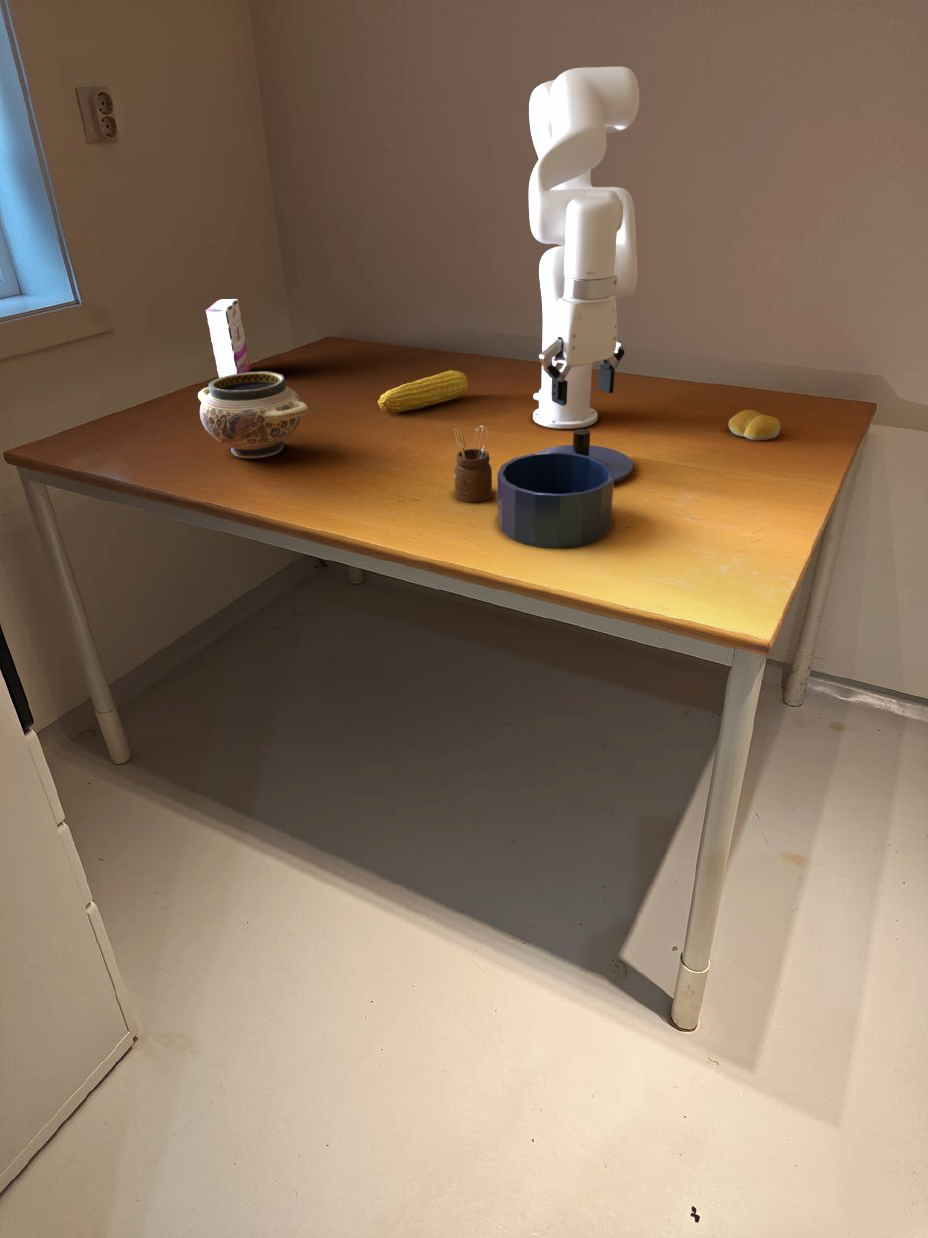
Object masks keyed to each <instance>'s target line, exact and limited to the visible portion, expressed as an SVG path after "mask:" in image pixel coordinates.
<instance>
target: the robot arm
mask: <svg viewBox="0 0 928 1238" xmlns="http://www.w3.org/2000/svg"><path fill="white" fill-rule="evenodd" d="M639 87H640V86H639V81H638V78H637V77H636V74H635V73H634V72H633V71H632V69H630V68H628V67H626V66H595V67H594V66H592V67H589V66H588V67H586V66H585V67H575V68H570V69H567V70H565V71H563V72H562V73H560V74H559V75H558V76H557V77H556V78H555V79H553V80H548V81H545V82H543V83H541V84H539V85H537V86H536V87H535V88H534V89H533V91H531V95H530V98H529V104H528V107H529V108H528V111H529V112H528V115H529V128H530V135H531V140H532V142H533V147H534V149H535V152H536V154H537V157H538V160H537V162H536V164H535V165H534V167H533V169H532V172H531V175H530V177H529V178H530V179H529V184H528V211H529V212H528V213H529V225H530V231H531V233H532V236H533V237H534V239H536V241H538V242H539V243H541V244H546V245H552V244H553V245H558V246H554V247H552V248H549V249H548V250H546V251H545V252H544V253H543V255H541V259H540V261H539V266H538V267H539V268H538V274H539V275H538V278H539V285H540V286H539V287H540V294H541V304H542V305H541V306H542V347H541V349H542V350H541V351H542V352H540V353H539V355H538V359H539V361H540V364H541V388H540V389H539V391H538V392H535V393H534V394H533V396H532V398H533V400H535V401H537V402H538V408H537V409H535V410H534V411H533V412H532V419H533V421H534V422H535V423H536V424H538V425H540V426H542V427H545V428H551V429H557V430H573V429H574V430H577V429H583V428H587V427H589V426H592V425H594V424H595V423H596V422H597V421H598V412H597V410H595V409H594V408H592V407H591V394H592V378H593V364H595V363H598V362H599V363H600V362H601V363H602V364H600V365H599V368H598V381H597V389H598V390H599V391H602V392H604V393H607V394H609V395H611V394H613V393H614V389H615V373H616V369H618V368H619V366H620V361H621V360H622V358H623V357H624V355H625V350H626V348H627V346H628V344H629V342H630V337H629V336H627V335H626V334H623V333H621V332H619V331H618V313H617V312H618V309H617V301H619V302H620V301H625V300H627V299H629V298H631V297H632V296H633V294H634V293H635V290H636V287H637V283H638V271H639V270H638V252H637V251H638V250H637V247H638V246H637V233H636V232H637V229H636V227H637V226H636V212H635V204H634V199H633V197H632V195H631V193H630V192H629V191H628V190H627V189H625V188H624V187H619V186H592V176H591V171H592V170H593V169H595V168H596V167H597V166H598V165H599V164H600V163H601V162H602V160H603V158H604V156H605V154H606V151H607V147H608V146H607V145H608V142H607V141H608V140H607V134H615V133H617V134H618V133H620V132H622V131H624V130H626V129H627V128H629V127H630V126H631V125H632V124H633V123H634V121H635V119H636V117H637V115H638V113H639V112H638V111H639V106H640V88H639Z"/></svg>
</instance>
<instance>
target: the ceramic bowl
mask: <svg viewBox="0 0 928 1238" xmlns="http://www.w3.org/2000/svg"><path fill="white" fill-rule="evenodd" d="M197 397H198V400H199V401H200V402H201V404H200V407H199V416H200V420H201V424H202V426H203V427H204V429H205V430H206V432H208V434H209V435H210V436H211V437H213V438H214V439H215V440H216V441H218V442H219V443H221V444H223V445H224V446H226V447H229V448H230V452H231V453H232V454H233V455H234V456H236V457H237V458H241V459H261V458H262V459H263V458H266V457H271V456H274V455H276V454H278V453H280V452H281V451H282V450H283V449H284V448H285V444H284V441H285V440H287V439H288V438H289V437H290V436H292V434H293V433H294V432H295V430H296V429H297V427H298V426H299V425H300V422H301V419H302V416H304V415H306V414H307V413H308V411H309V408H308V405H307V404H306V403H305V402H303V401H302V400H301V398H300V396H299V395H298V394H297V392H296V391H295V390H294V389H292V388H291V387H289V386H287V384H286V378H285V376H284V375H283V374H281V373H278V372H273V371H265V370H264V371H249V372H246V373H238V374H233V375H228V376H224V377H220V378H219V377H217V378H215V379H213V380H211V381H210V382H209V383H208V387H204V388H202V389H201V390H200V391H199V392H198V394H197Z"/></svg>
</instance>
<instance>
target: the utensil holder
mask: <svg viewBox="0 0 928 1238" xmlns="http://www.w3.org/2000/svg"><path fill="white" fill-rule="evenodd" d="M483 428H484V429H485V434H487V435H485V437H484V438H485V439H484V441H486V443H484V445H483V448H482V449H481V445H482V444H481V443H479V444H478V448H477V444H476V443H477V440H474V444H472V445H473V447H474V448H467V449H465V448H466V447H467V445H466V441H465V437H464V434H463V429H459V428H456V427H454V428H453V432H454V435H455V440H456V445H457V446H458V447H459V448H460V451H458V452H457V453H456V458H455V461H456V465H455V466H454V492H455V496H456V498H457V499H458V500H460V501H463V502H467V503H479V502H483V501H486V500H488V499H490V497H491V495H492V492H493V471H492V466H491V464H490V454H489V452H488V451H486V448H487V446H488V443H489V441H487V440H488V437H489V433H490V432H489V431H488V428H487V427H486V426H484V425H479V426H477V427H476V428H475V430H474V435H472V436H473V437H472V438H473V439H475V437H477V434H478V433H476V432H478V431H479V429H480V430H483ZM479 434H480V436H479V438H480V440H482V437H483V435H482V433H479ZM474 436H475V437H474Z"/></svg>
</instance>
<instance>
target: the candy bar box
mask: <svg viewBox="0 0 928 1238" xmlns="http://www.w3.org/2000/svg"><path fill="white" fill-rule="evenodd" d="M240 308H241V307H240V302H239V299H238V298H237V299H236V298H231V299H230V298H228V299H218V300H217V301H216V302H214V303H213V304H212V305H211V306H210V307H208V308H207V309H206V310H205V313H206V318H207V319H206V320H207V324H208V328H209V333H210V338H211V343H212V349H213V354H214V359H215V365H216V370H217V374H218V378H220V377H224V376H228V375H233V374H238V373H246V372H250V370H251V366H250V365H251V364H250V359H249V354H248V348H247V342H246V337H245V330H244V326H243V325H244V324H243V319H242V314H241V309H240Z"/></svg>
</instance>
